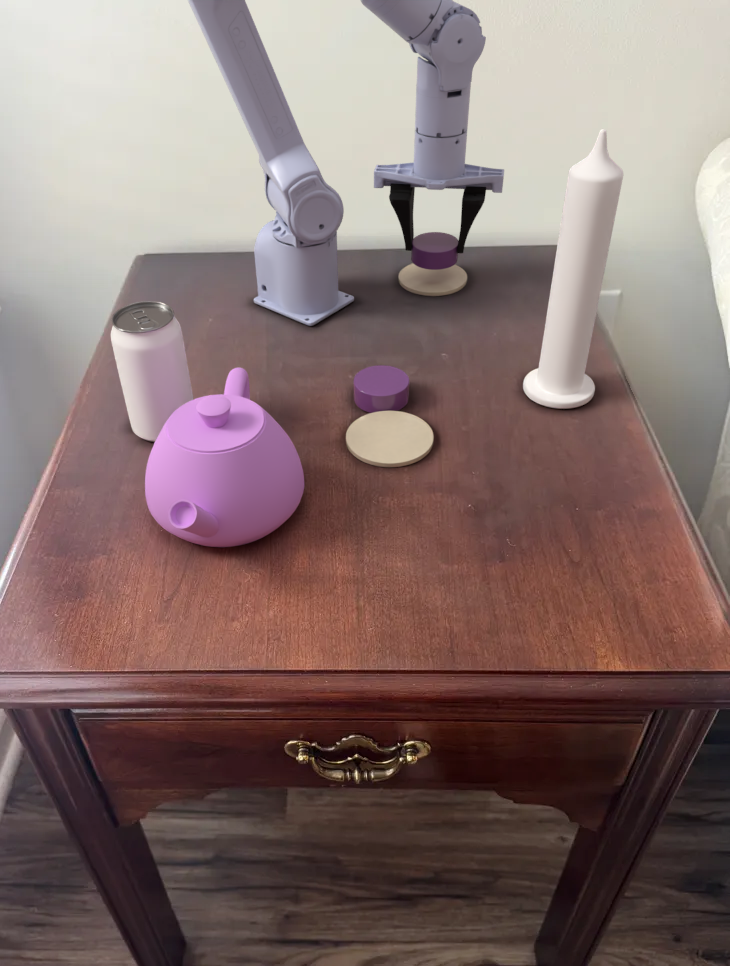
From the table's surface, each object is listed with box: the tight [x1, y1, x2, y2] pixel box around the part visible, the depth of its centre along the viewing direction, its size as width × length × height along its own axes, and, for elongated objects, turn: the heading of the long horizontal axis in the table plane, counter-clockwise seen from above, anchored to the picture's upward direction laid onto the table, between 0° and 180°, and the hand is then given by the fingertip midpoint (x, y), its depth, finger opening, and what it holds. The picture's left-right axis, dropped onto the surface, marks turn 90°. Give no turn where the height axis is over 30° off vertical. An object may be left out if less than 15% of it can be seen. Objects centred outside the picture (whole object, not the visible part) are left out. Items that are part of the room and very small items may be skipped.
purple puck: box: [353, 364, 410, 414], centre depth 86 cm, size 6×6×2 cm
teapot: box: [144, 366, 305, 548], centre depth 72 cm, size 14×20×11 cm
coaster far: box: [397, 263, 468, 297], centre depth 105 cm, size 8×8×1 cm
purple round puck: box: [410, 231, 459, 270], centre depth 103 cm, size 6×6×2 cm
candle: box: [522, 128, 624, 410], centre depth 78 cm, size 7×7×25 cm
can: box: [110, 300, 194, 443], centre depth 81 cm, size 6×6×12 cm
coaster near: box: [345, 410, 435, 468], centre depth 82 cm, size 8×8×1 cm
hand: (434, 248), depth 102 cm, fingers closed on purple round puck, 5 cm apart
